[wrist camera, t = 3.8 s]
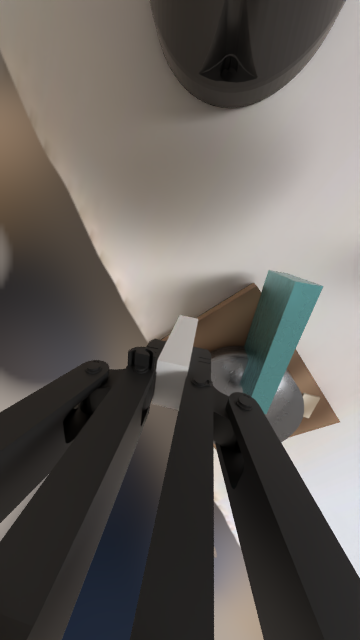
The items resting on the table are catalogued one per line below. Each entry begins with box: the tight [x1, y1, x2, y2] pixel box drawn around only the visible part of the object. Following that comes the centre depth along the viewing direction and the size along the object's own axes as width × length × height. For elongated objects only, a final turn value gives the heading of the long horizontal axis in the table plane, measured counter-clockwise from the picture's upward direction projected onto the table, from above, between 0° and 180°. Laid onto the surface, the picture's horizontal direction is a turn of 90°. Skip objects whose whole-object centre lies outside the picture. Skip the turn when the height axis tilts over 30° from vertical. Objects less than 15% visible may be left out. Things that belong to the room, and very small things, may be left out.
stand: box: [161, 283, 340, 450], centre depth 27 cm, size 22×18×2 cm
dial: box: [210, 270, 323, 444], centre depth 20 cm, size 23×14×7 cm, turn 171°
